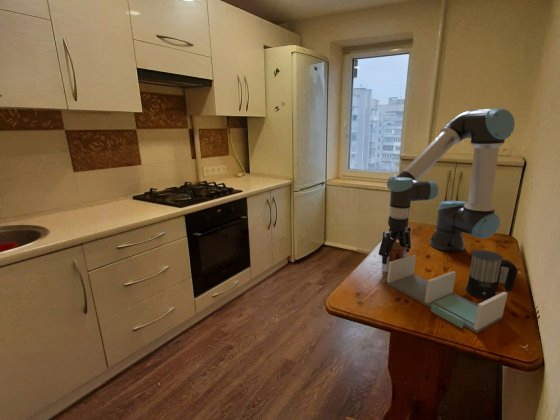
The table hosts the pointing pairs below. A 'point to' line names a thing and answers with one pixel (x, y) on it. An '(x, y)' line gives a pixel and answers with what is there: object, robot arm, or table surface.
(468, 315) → the rack
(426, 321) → the table surface
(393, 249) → the mug
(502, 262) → the milk frother
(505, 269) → the mug
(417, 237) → the table surface
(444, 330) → the table surface
